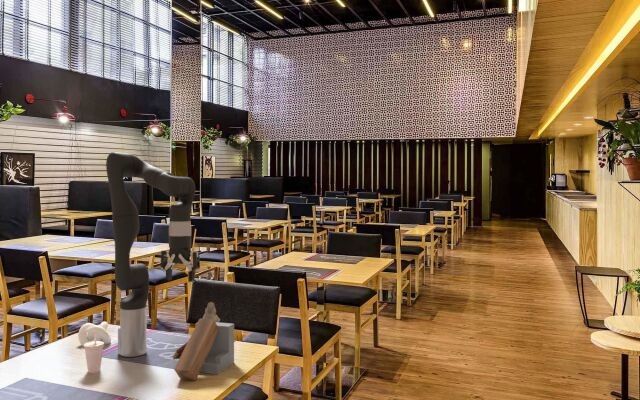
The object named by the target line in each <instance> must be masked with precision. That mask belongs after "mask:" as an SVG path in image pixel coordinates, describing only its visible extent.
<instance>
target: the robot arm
mask: <svg viewBox="0 0 640 400" xmlns="http://www.w3.org/2000/svg"><path fill="white" fill-rule="evenodd" d="M105 162H106V164H105V166H106V167H105V168H106V176H107V182H108V186H109V193H110V201H111V215H112V216H111V217H112V227H113V228H112V229H113V237H114V255H115V256H114V281H115V285H116V287H117V289H118V290H120V291H123V292H124V291H130V293H129V294H128V295H127V296H125V297H124V298H122V299H121V300H120V302H119V318H120V319H119V321H120V322H119V327H118V328H117V354H118V355H120V356H121V357H126V358H134V357H139V356H143V355H145V354H147V349H148V348H147V347H148V346H147V342H148V341H147V334H148V333H147V331H148V330H147V328H148V327H147V302H148V299H149V291H150V290H149V288H150V286H149V285H150V274H149V269H148V267H147V266H146V264H145V263H133V264H131V262H130V260H131V259H130V257H131V255H130V254H131V250H132V247H133V245H134V243H135V241H136V239H137V237H138V234H139V232H140V216H139V210H138V207H137V206H136V204H135V203H134V201H133V199H132V197H130V195H129V193H128V192H127V189H126V186H125V180H124V178H139V179H143V181H144V182H145V183H146V184H147V185H149V186H150V187H153V188H155V189H157V190H160V191H161V192H162V193H163V194H165V195H166V196H169V197H171V198H178V201H177V203H172V204H171V205H170V206H169V225H168V248H169V250H168V249H165V250H161V251H160V252H161V253H160V268H162V269H165V279H166V280H167V281H168V282H170V281H172V280H173V269H172V268H173V267H174V266H175V264H176V265H177V264H180V265H184V266H185V267H186V268H187V270H188V273H187V274H188V275H187V278H188V279H187V280H188V283H193V282H194V280H195V276H196V274H195V273H196V272H195V271H196V270H199V269H200V268H201V261H200V260H201V258H200V251H198V250H197V251H192V224H191V209H192V206H193V202H194V198H195V193H196V184H195V181H194V180H193V178H192V177H188V176H175V175H173V174H172V173H171V172H169V171H167V170H165V169H162V168H159V167H157V166H154V165H151V164H149V163H148V162H146V161H144V160H143V159H141V158H140V157H139V156H137V155H135V154H133V153H131V152H129V153H128V152H116V151H115V152H114V151H112V152H110V153H109V154H108V155H107V157H106V161H105ZM169 257H170V258H169ZM168 258H169V259H168ZM191 258H192V259H191Z"/></svg>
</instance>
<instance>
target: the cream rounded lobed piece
mask: <svg viewBox="0 0 640 400" xmlns="http://www.w3.org/2000/svg"><path fill="white" fill-rule="evenodd" d="M108 327H109V323H108V322H107V321H102V322H100V325H96V324H94V323H91V322H87V323H85V324H83V325H82V326H81V327H80V328H79V331H78V335H77V336H78V337H77V338H78V341H79V344H80V346H82V347H84V344H85V343H88V342H93V341H94V330H96V341H102V342H104V345H108V344H111V342H112V338H111V335H110V334H109V332H108V331H107V329H108Z"/></svg>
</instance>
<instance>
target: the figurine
mask: <svg viewBox="0 0 640 400" xmlns="http://www.w3.org/2000/svg"><path fill="white" fill-rule="evenodd" d="M206 306H207V307H206V308H205V310H204V314H203V316H202V319H212V320H215V322H219V323H220V321H221V318H220V317H219V316H218V315H217V314H216V313H217V309H216V307H215V303H214V302H212V301H210V302H208V303H207V305H206Z"/></svg>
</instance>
